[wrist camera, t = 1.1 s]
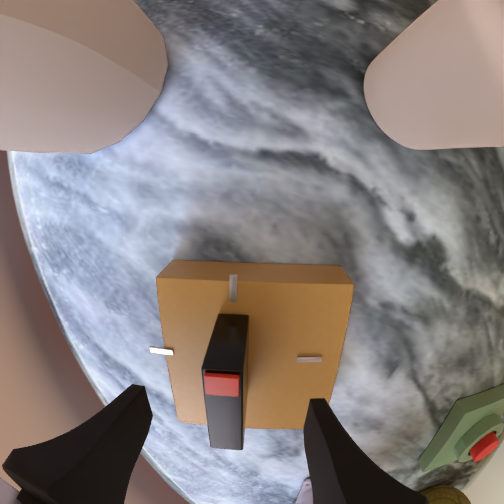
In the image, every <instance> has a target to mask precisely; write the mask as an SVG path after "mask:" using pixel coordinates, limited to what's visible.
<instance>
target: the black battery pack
mask: <svg viewBox="0 0 504 504" xmlns="http://www.w3.org/2000/svg"><path fill="white" fill-rule="evenodd" d="M248 355H249V315H237V314H218V315H217V319H216V322H215V325H214V328H213V331H212V334H211V338H210V341H209V344H208V347H207V350H206V354H205V357H204V360H203V363H202V367H201V373H202V382H203V392H204V401H205V409H206V417H207V425H208V432H209V439H210V446H211V447H212V448H220V449H232V450H242V449H243V444H244V432H245V420H246V408H247V395H248Z"/></svg>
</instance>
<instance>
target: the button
mask: <svg viewBox="0 0 504 504" xmlns="http://www.w3.org/2000/svg"><path fill="white" fill-rule="evenodd" d="M498 444H499V439H498V438H497V436H496V435H495V433H494V432H491V433H489V434H487V435H486V436H484V437H483V438H482V439H480V440H479V441H478V442H477V443H476V444H475V445H474V446H473V447H472V448H471V449H470V451H469V453H470V455H471V457H472V458H473V460H474V462H477V461H479V460H481V459H483V458H485V457H486V456H487V455H489V454H490V453H491V452H492V451H493V450H494V449H495V448H496V447H497V445H498Z"/></svg>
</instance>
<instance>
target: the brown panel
mask: <svg viewBox="0 0 504 504" xmlns="http://www.w3.org/2000/svg"><path fill="white" fill-rule="evenodd" d="M156 284H157V294H158V303H159V311H160V319H161V327H162V334H163V341H164V347H165V348H162V347H154V346H150V351H151V352H153V353H160V354H166V359H167V365H168V371H169V377H170V382H171V387H172V392H173V397H174V402H175V407H176V411H177V416H178V420H179V421H180V422H187V423H194V424H202V425H207V417H206V409H205V401H204V392H203V382H202V373H201V367H202V363H203V360H204V357H205V354H206V350H207V347H208V344H209V341H210V338H211V334H212V331H213V328H214V325H215V322H216V319H217V315H218V314H237V315H249V355H248V395H247V408H246V420H245V428H253V429H304V423H305V419H306V415H307V410H308V406H309V401H310V399H312V398H325V399H326V401H327V403H328V404H329V402H330V398H331V395H332V391H333V387H334V383H335V379H336V375H337V371H338V367H339V362H340V358H341V353H342V349H343V344H344V339H345V335H346V329H347V324H348V319H349V314H350V308H351V302H352V296H353V290H354V283H353V282H352V281H351V279H350V278H349V277H348V275H347V274H346V273H345V271H344V270H343V269H342V267H341V266H339V265H303V264H270V263H241V262H214V261H188V260H172V261H171V262H170V263H169V264H168V265H167V266H166V267H165V268H164V269H163V270H162V271H161V272H160V274H159V275H158V276H157V277H156Z"/></svg>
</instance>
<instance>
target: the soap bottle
mask: <svg viewBox="0 0 504 504" xmlns="http://www.w3.org/2000/svg"><path fill="white" fill-rule="evenodd" d="M167 67H168V61H167V55H166V49H165V42H164V37H163V35H162V34H161V32H160V31H159V30H158V29H157V28H156V26H155V25H154V24H153V23H152V22H151V20H150V19H149V18H148V17H147V16H146V15H145V13H144V12H143V11H142V10H141V9H140V8H139V7H138V5H137V4H136V3H135V2H134V1H133V0H0V150H9V151H22V152H38V153H80V154H91V153H93V152H96V151H98V150H101V149H103V148H105V147H108V146H110V145H113V144H115V143H118V142H120V141H121V140H122V139H123V138H124V137H126V136H127V135H128V134H129V133H130V132H131V131H132V130H133V129H135V128H136V127H137V126H138V125H139V124H140V123H142V122H143V121H144V119H145V117H146V116H147V114H148V113H149V111H150V109H151V108H152V106H153V105H154V103H155V101H156V100H157V98H158V97H159V95H160V94H161V90H162V86H163V82H164V78H165V74H166V71H167Z"/></svg>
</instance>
